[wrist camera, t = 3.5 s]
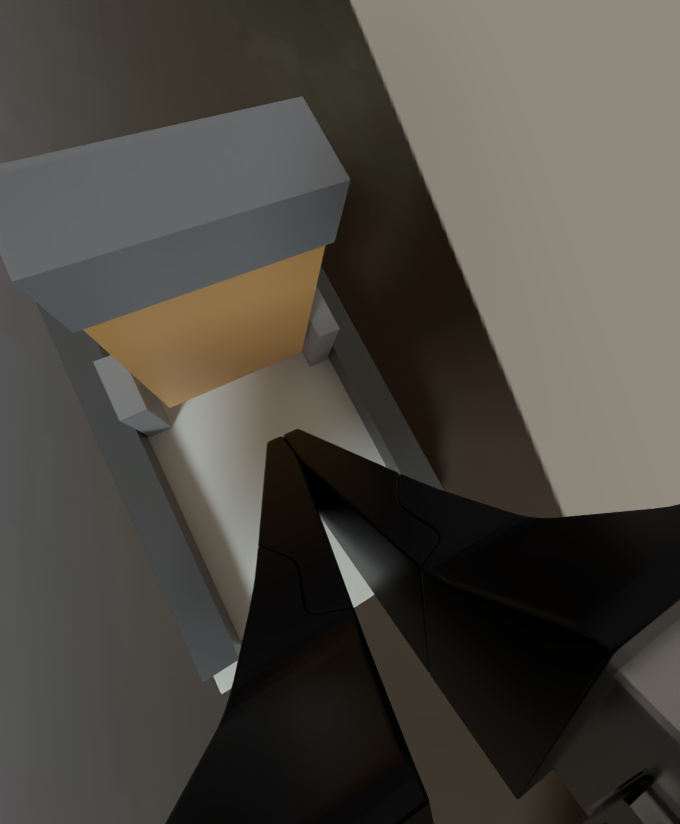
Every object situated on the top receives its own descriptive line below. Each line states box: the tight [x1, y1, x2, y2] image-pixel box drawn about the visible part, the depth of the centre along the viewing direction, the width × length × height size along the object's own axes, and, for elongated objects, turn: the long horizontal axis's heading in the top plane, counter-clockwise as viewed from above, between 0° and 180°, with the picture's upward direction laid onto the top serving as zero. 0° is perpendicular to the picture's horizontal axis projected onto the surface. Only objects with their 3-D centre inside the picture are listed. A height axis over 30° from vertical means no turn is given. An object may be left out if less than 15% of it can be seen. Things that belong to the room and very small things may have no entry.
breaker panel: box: [36, 266, 444, 694], centre depth 15 cm, size 20×10×6 cm, turn 28°
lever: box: [0, 97, 350, 408], centre depth 10 cm, size 2×5×8 cm, turn 118°
